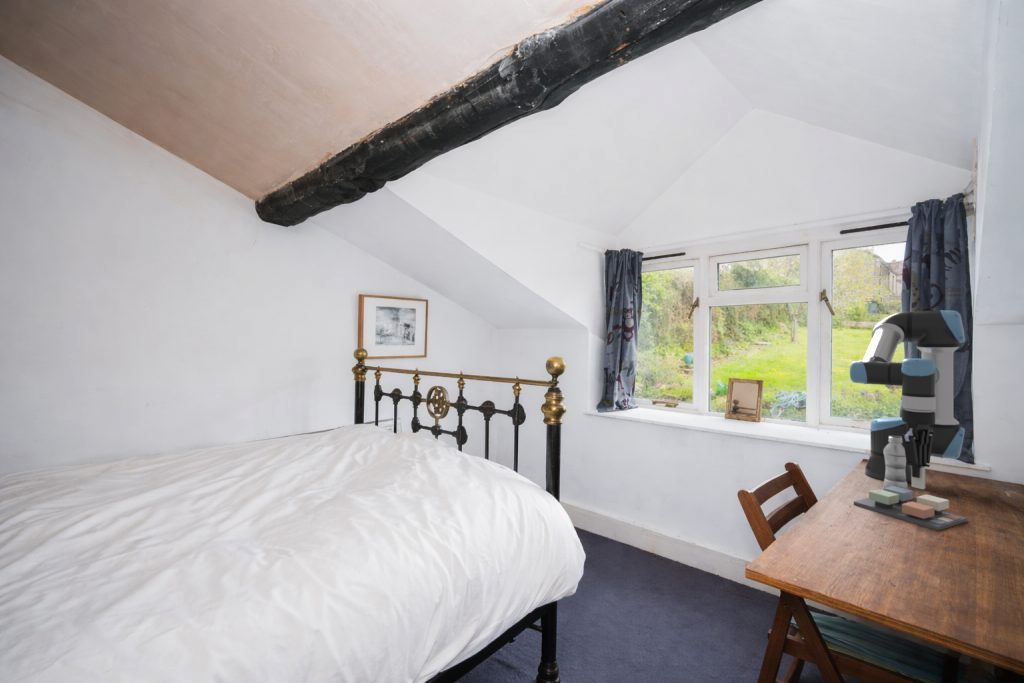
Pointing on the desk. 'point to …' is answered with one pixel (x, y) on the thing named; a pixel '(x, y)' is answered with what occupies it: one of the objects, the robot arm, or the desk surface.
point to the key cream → (933, 502)
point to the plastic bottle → (895, 463)
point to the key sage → (884, 496)
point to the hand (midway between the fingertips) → (918, 487)
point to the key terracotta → (918, 510)
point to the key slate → (900, 492)
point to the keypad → (895, 510)
